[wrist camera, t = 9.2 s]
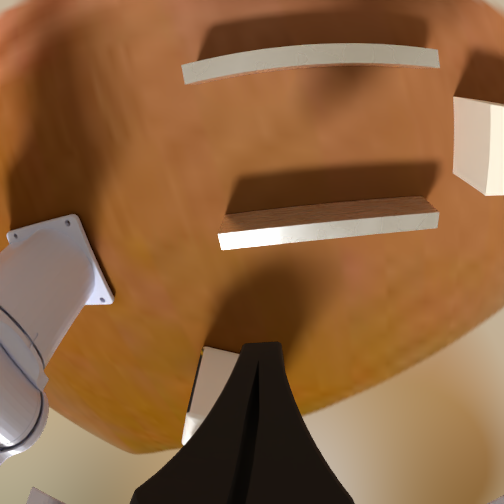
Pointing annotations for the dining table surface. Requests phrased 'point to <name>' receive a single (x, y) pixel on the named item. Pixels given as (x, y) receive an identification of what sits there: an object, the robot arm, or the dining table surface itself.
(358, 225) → the channel
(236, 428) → the robot arm
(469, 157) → the block
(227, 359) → the medicine bottle
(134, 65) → the dining table surface
